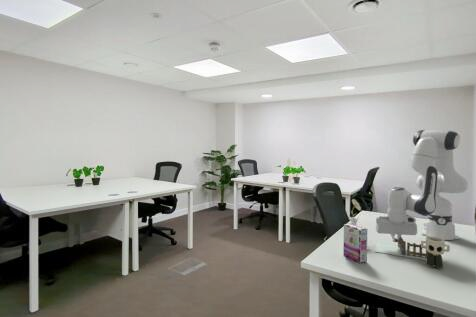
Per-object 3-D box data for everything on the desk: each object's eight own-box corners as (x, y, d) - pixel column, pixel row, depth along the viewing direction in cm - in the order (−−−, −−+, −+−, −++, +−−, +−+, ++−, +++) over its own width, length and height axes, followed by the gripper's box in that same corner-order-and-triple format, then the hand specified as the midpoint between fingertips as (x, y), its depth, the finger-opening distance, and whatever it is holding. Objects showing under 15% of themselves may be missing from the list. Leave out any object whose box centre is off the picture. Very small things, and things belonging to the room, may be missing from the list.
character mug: (420, 266, 127) (421, 239, 126) (420, 261, 133) (420, 234, 132) (450, 272, 121) (450, 243, 120) (448, 266, 127) (449, 238, 126)
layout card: (376, 243, 158) (376, 242, 158) (427, 250, 146) (428, 250, 146) (375, 252, 144) (375, 251, 144) (432, 261, 133) (432, 260, 133)
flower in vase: (365, 245, 154) (366, 202, 153) (343, 243, 158) (344, 200, 157) (362, 238, 166) (363, 198, 165) (342, 236, 170) (343, 197, 169)
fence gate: (400, 246, 150) (400, 235, 150) (404, 252, 142) (404, 241, 141) (397, 246, 151) (398, 235, 151) (401, 252, 142) (401, 241, 142)
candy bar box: (367, 262, 131) (368, 228, 131) (359, 263, 130) (360, 229, 129) (350, 253, 142) (350, 222, 141) (342, 255, 140) (343, 223, 140)
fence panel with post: (401, 254, 142) (402, 240, 141) (429, 258, 136) (429, 244, 136) (401, 255, 140) (402, 241, 140) (429, 259, 135) (429, 245, 134)
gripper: (378, 217, 147) (377, 242, 147) (419, 219, 144) (418, 245, 144) (374, 214, 153) (373, 238, 153) (413, 216, 150) (412, 241, 151)
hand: (395, 241), depth 149 cm, fingers closed
